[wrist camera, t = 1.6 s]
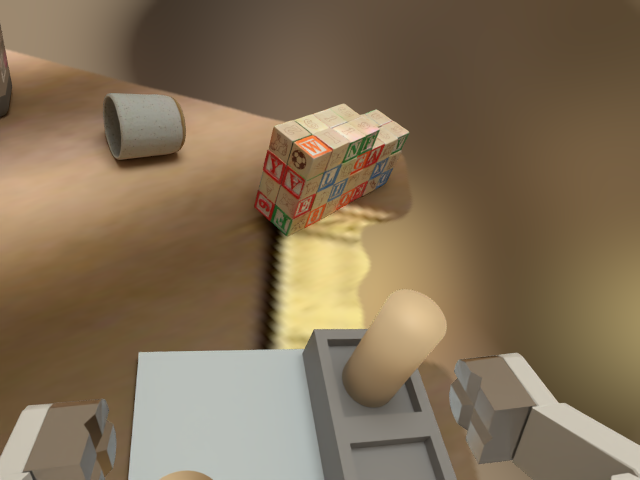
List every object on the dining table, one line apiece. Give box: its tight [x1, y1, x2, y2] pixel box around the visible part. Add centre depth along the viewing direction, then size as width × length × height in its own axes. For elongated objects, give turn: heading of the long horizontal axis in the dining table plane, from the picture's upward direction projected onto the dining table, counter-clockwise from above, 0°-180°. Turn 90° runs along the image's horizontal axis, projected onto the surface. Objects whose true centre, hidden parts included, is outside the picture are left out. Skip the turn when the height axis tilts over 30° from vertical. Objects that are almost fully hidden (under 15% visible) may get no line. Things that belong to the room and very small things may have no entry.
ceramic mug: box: [103, 93, 186, 160], centre depth 58 cm, size 11×8×8 cm
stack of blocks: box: [254, 104, 409, 236], centre depth 60 cm, size 21×6×12 cm, turn 138°
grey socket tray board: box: [128, 289, 457, 480], centre depth 33 cm, size 24×19×14 cm
